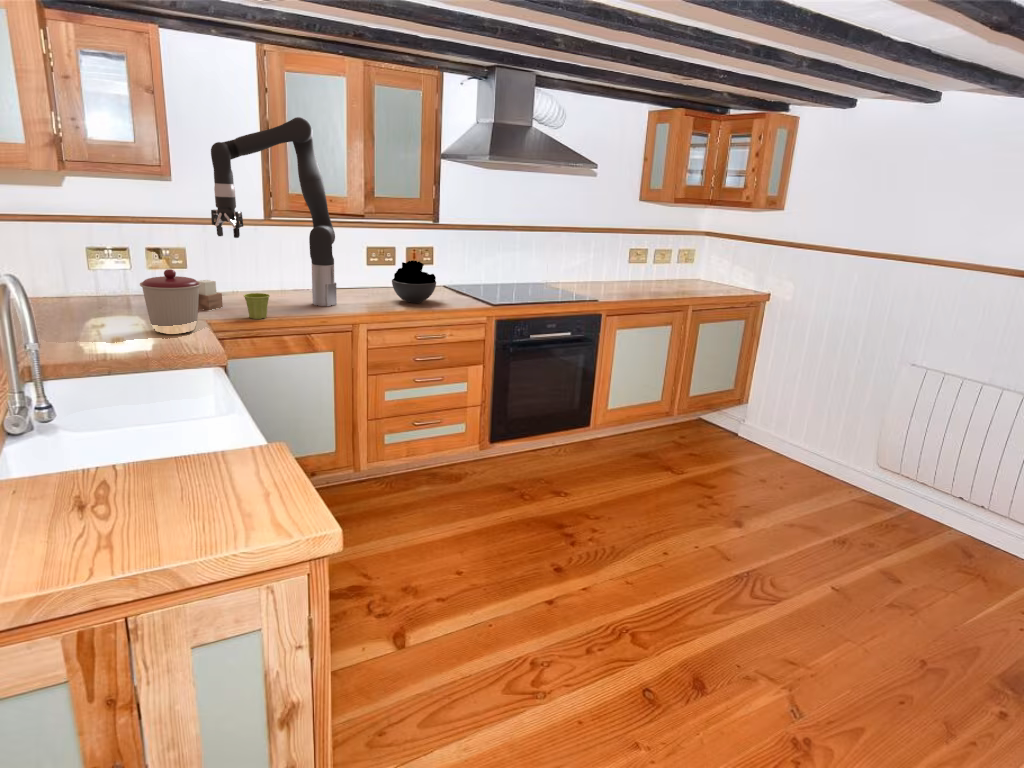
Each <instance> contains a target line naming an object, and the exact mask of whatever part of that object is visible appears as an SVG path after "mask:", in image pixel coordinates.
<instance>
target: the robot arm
mask: <svg viewBox="0 0 1024 768" xmlns="http://www.w3.org/2000/svg"><path fill="white" fill-rule="evenodd" d="M313 136H314V135H313V127H312V125H311V122H309V120H308V119H306V118H305V117H301V116H298V117H294V118H292V119H290V120H289V121H286V122H285V123H284V122H283V123H282V124H280V125H277V126H275V127H271V128H268V129H264V130H260V131H256V132H252V133H248V134H244V135H241V136H238V137H236V138H234V139H231V140H230V139H229V140H226V141H222V142H220V141H217V142H215V143H213V144H212V145H211V148H210V156H211V157H210V158H211V162H212V168H213V181H214V188H213V189H214V199H215V207H216V208H217V209H210V210H211V213H210V214H211V225H212V226H215V229H216V234H217V237H223V236H224V231H223V225H224V224H225V222H226V223H229V224H231V226H232V228H233V229H232V230H233V238H235V239H238V238H240V236H241V235H240V234H241V233H240V228H243V227H244V220H243V219H244V217H243V212H242V211H236V208H237V203H236V202H237V201H236V190H235V184H234V173H233V170H232V165H231V164H232V162H231V160H235V159H237V158H239V157H242V156H243V157H244V156H248V155H252V154H255V153H260V152H262V151H265V150H267V149H269V148H272V147H274V146H277V145H280V144H285V143H291V142H292V144H293V147H294V151H295V155H296V162H297V173H298V180H299V185H300V189H301V193H302V194H301V195H302V196H303V199H304V202H305V204H306V206H307V208H308V210H309V213H310V216H311V220H312V229H311V230H310V232H309V242H308V243H309V257H310V259H311V287H312V288H311V291H312V292H311V294H312V296H311V297H312V305H313V304H314V306H317V305H318V307H320V306H321V307H331V305H332V306H337V304H338V303H337V302H338V301H337V282H335V257H334V256H333V244H334V242H335V241H336V233H335V229H334V227H333V223H332V221H331V217H330V214H329V213H330V212H329V209H328V202H327V195H326V191H325V190H326V189H325V185H324V181H323V175H322V171H321V168H320V166H319V163H318V160H317V157H316V153H315V146H314V138H313Z"/></svg>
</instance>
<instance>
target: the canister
mask: <svg viewBox="0 0 1024 768" xmlns="http://www.w3.org/2000/svg"><path fill="white" fill-rule="evenodd" d="M198 281H199V280H196V279H194V278H192V277H187V276H179V275H178V276H177V272H176V271H175V270H174V269H170V268H169V269H165V270H164V271H163V276H154V277H148V278H146V279H144V280H143V281H141V282H140V283H139V286H140V287H141V289H142V294H143V298H144V303H145V307H146V311H147V315H148V318H149V322H150V325H151V324H152V325H158V326H173V325H182V324H187V323H191V322H194V321H197V322H198V317H199V316H198V315H199V310H198V299H199V286H200V285H201V283H200V282H198Z"/></svg>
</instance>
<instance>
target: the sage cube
mask: <svg viewBox="0 0 1024 768" xmlns="http://www.w3.org/2000/svg"><path fill="white" fill-rule="evenodd" d="M197 281H198V282H200V283H201V285H200V286H199V294H201V295H212V294H216V293H217V283H216V281H215V280H210V279H201V280H197Z"/></svg>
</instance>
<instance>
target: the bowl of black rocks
mask: <svg viewBox="0 0 1024 768" xmlns="http://www.w3.org/2000/svg"><path fill="white" fill-rule="evenodd" d="M424 265H425V264H424V263H422V262H421V261H420V260H419V261H417V260H408V261H407V262H403V261H402V262H401V267H399V268H398V269H397V270H396V272H395V273H394V275H393V279H391V285H392V288H393V290H394V293H396V295H397V296H398V297H399V298H400V299H401V300H402V301H405V302H408V303H410V302H411V304H417V303H422V302H425V301H426V300H428V299H429V298H430V297H431V296H432V295H433V293H434V292H435V289H436V288H437V287H436V286H437V281H436V276H435V273H431V274H429V273H428V272H425V271H423V268H424Z"/></svg>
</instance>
